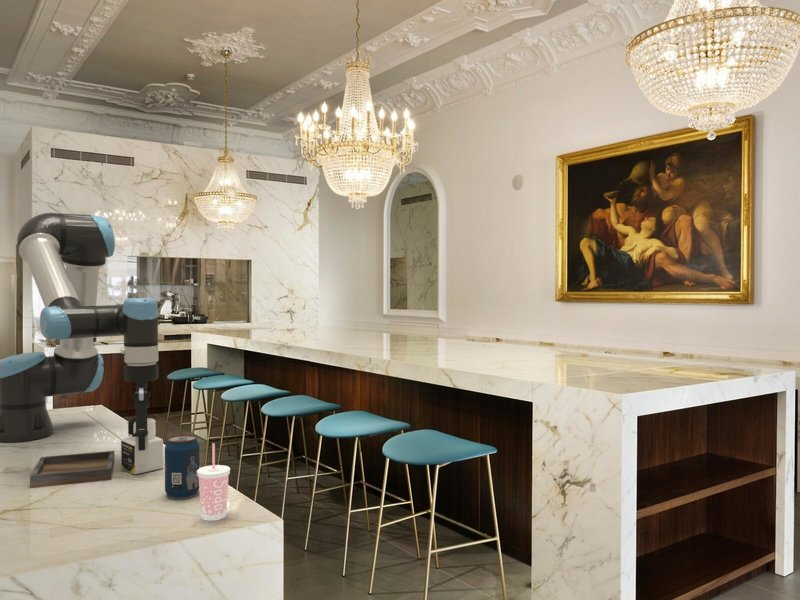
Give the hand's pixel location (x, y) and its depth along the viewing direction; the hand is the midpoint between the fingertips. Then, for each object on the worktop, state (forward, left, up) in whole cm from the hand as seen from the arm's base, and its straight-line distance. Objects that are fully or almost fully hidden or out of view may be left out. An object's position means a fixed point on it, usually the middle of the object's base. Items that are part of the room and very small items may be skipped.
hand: (142, 457), depth 154 cm
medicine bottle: (0, 0, -3) cm, 3 cm away
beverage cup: (+37, +13, -3) cm, 39 cm away
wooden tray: (-2, -14, -3) cm, 15 cm away
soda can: (+22, +8, -3) cm, 24 cm away
